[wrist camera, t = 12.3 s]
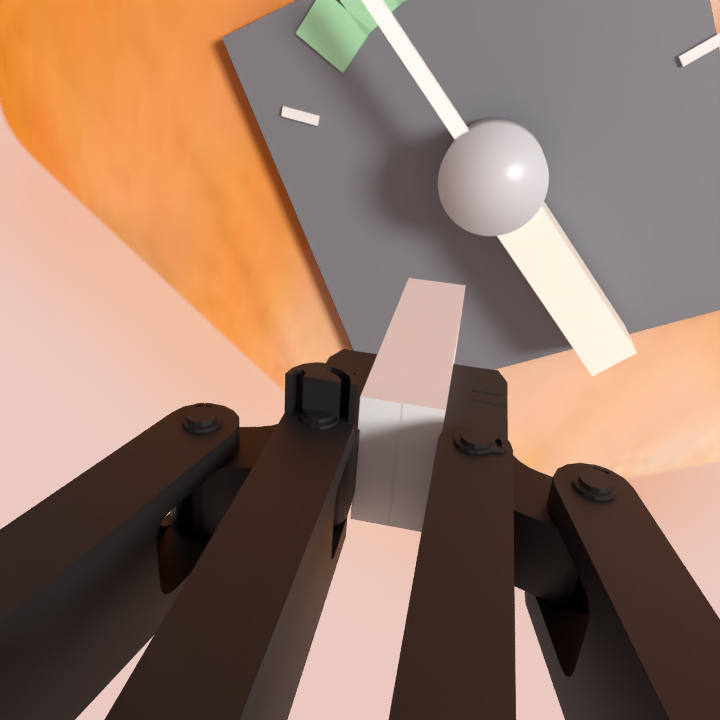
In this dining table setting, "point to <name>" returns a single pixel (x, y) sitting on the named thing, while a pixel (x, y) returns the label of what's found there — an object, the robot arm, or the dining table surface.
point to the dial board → (509, 100)
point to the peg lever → (515, 211)
